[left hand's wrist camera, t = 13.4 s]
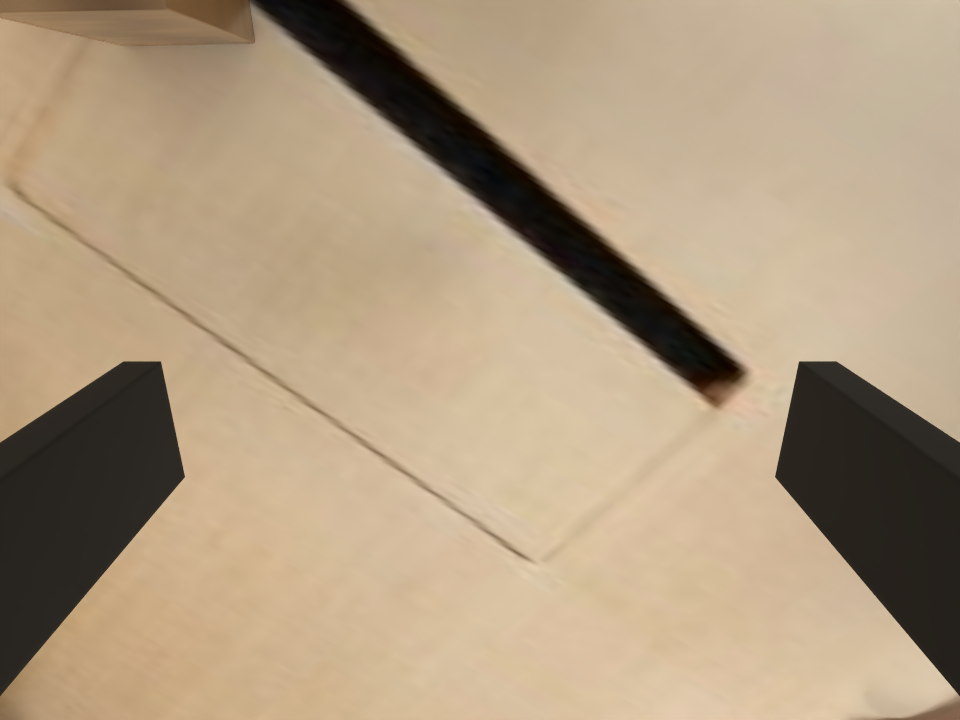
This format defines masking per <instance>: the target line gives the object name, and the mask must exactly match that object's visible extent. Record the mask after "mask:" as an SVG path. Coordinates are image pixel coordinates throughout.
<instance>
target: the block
mask: <svg viewBox="0 0 960 720" xmlns="http://www.w3.org/2000/svg"><path fill="white" fill-rule="evenodd" d="M0 18H3V19H7V20H11V21H16V22H20V23H25V24H29V25H33V26H38V27H42V28H47V29H51V30H55V31H60V32H64V33H69V34H73V35H77V36H82V37H86V38H91V39H95V40H100V41H104V42H108V43H113V44H117V45H122V46H138V45H188V44H237V43H254V42H255V40H254V33H253V26H252V19H251V12H250V5H249V0H0Z"/></svg>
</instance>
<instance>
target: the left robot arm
mask: <svg viewBox="0 0 960 720" xmlns="http://www.w3.org/2000/svg"><path fill="white" fill-rule="evenodd" d="M184 477H185V475H184V471H183V466H182V461H181V456H180V451H179V447H178V442H177V437H176V432H175V427H174V423H173V418H172V413H171V408H170V403H169V399H168V394H167V389H166V384H165V379H164V374H163V370H162V365H161V362H122V363H121V364H119V365H118V366H116V367H115V368H113V369H111V370H110V371H108V372H107V373H105V374H104V375H102V376H101V377H99V378H98V379H96V380H95V381H93V382H92V383H90V384H89V385H87V386H86V387H84V388H83V389H81V390H80V391H78V392H77V393H75V394H73V395H72V396H70V397H69V398H67V399H66V400H64V401H63V402H61V403H60V404H58V405H57V406H55V407H54V408H52V409H51V410H49V411H48V412H46V413H45V414H43V415H42V416H40V417H39V418H37V419H35V420H34V421H32V422H31V423H29V424H28V425H26V426H25V427H23V428H22V429H20V430H19V431H17V432H16V433H14V434H13V435H11V436H10V437H8V438H7V439H5V440H4V441H2V442H1V443H0V696H1V694H2V693H3V692H4V691H5V690H6V688H7V687H8V686H9V685H10V684H11V682H12V681H13V680H14V679H15V678H16V677H17V675H18V674H19V673H20V672H21V671H22V669H23V668H24V667H25V666H26V665H27V664H28V662H29V661H30V660H31V659H32V658H33V656H34V655H35V654H36V653H37V652H38V650H39V649H40V648H41V647H42V646H43V645H44V643H45V642H46V641H47V640H48V639H49V637H50V636H51V635H52V634H53V633H54V631H55V630H56V629H57V628H58V627H59V626H60V624H61V623H62V622H63V621H64V620H65V618H66V617H67V616H68V615H69V614H70V613H71V611H72V610H73V609H74V608H75V607H76V605H77V604H78V603H79V602H80V601H81V599H82V598H83V597H84V596H85V595H86V594H87V592H88V591H89V590H90V589H91V588H92V586H93V585H94V584H95V583H96V582H97V581H98V579H99V578H100V577H101V576H102V575H103V573H104V572H105V571H106V570H107V569H108V567H109V566H110V565H111V564H112V563H113V562H114V560H115V559H116V558H117V557H118V556H119V554H120V553H121V552H122V551H123V550H124V549H125V547H126V546H127V545H128V544H129V543H130V541H131V540H132V539H133V538H134V537H135V535H136V534H137V533H138V532H139V531H140V530H141V528H142V527H143V526H144V525H145V524H146V522H147V521H148V520H149V519H150V518H151V516H152V515H153V514H154V513H155V512H156V511H157V509H158V508H159V507H160V506H161V505H162V503H163V502H164V501H165V500H166V499H167V498H168V496H169V495H170V494H171V493H172V492H173V490H174V489H175V488H176V487H177V486H178V484H179V483H180V482H181V481H182V480H183V479H184ZM775 477H776V479H777V480H778V481H779V482H780V483H781V484H782V486H783V487H784V488H785V489H786V490H787V492H788V493H789V494H790V495H791V496H792V498H793V499H794V500H795V501H796V502H797V503H798V505H799V506H800V507H801V508H802V509H803V511H804V512H805V513H806V514H807V515H808V516H809V518H810V519H811V520H812V521H813V522H814V524H815V525H816V526H817V527H818V528H819V530H820V531H821V532H822V533H823V534H824V535H825V537H826V538H827V539H828V540H829V541H830V543H831V544H832V545H833V546H834V547H835V549H836V550H837V551H838V552H839V553H840V554H841V556H842V557H843V558H844V559H845V560H846V562H847V563H848V564H849V565H850V566H851V567H852V569H853V570H854V571H855V572H856V573H857V575H858V576H859V577H860V578H861V579H862V581H863V582H864V583H865V584H866V585H867V586H868V588H869V589H870V590H871V591H872V592H873V594H874V595H875V596H876V597H877V598H878V599H879V601H880V602H881V603H882V604H883V605H884V607H885V608H886V609H887V610H888V611H889V613H890V614H891V615H892V616H893V617H894V618H895V620H896V621H897V622H898V623H899V624H900V626H901V627H902V628H903V629H904V630H905V631H906V633H907V634H908V635H909V636H910V637H911V639H912V640H913V641H914V642H915V643H916V645H917V646H918V647H919V648H920V649H921V650H922V652H923V653H924V654H925V655H926V656H927V658H928V659H929V660H930V661H931V662H932V664H933V665H934V666H935V667H936V668H937V669H938V671H939V672H940V673H941V674H942V675H943V677H944V678H945V679H946V680H947V681H948V682H949V684H950V685H951V686H952V687H953V688H954V690H955V691H956V692H957V693H958V694H959V696H960V443H959V442H958V441H956V440H955V439H953V438H952V437H950V436H949V435H947V434H946V433H944V432H943V431H941V430H940V429H938V428H937V427H935V426H934V425H932V424H931V423H929V422H928V421H926V420H925V419H923V418H921V417H920V416H918V415H917V414H915V413H914V412H912V411H911V410H909V409H908V408H906V407H905V406H903V405H902V404H900V403H899V402H897V401H896V400H894V399H893V398H891V397H890V396H888V395H887V394H885V393H883V392H882V391H880V390H879V389H877V388H876V387H874V386H873V385H871V384H870V383H868V382H867V381H865V380H864V379H862V378H861V377H859V376H858V375H856V374H855V373H853V372H852V371H850V370H849V369H847V368H845V367H844V366H842V365H841V364H839V363H838V362H799V365H798V370H797V374H796V379H795V384H794V389H793V394H792V399H791V403H790V408H789V413H788V418H787V423H786V427H785V432H784V437H783V442H782V447H781V451H780V456H779V461H778V466H777V471H776V475H775Z"/></svg>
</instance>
